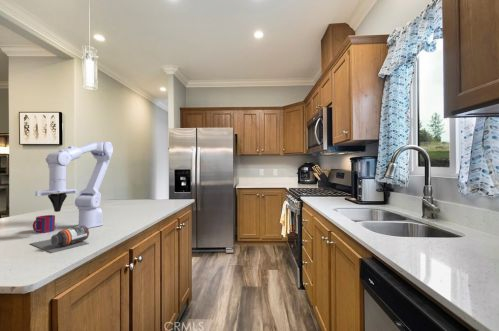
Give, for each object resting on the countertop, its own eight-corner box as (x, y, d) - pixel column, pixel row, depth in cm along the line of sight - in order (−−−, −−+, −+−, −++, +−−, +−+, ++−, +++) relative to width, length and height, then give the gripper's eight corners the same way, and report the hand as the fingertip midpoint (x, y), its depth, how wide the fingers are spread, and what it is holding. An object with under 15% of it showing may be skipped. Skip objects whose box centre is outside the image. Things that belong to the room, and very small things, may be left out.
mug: (58, 229, 114) (58, 215, 114) (39, 235, 104) (39, 219, 104) (44, 229, 115) (45, 214, 115) (24, 235, 105) (24, 219, 105)
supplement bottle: (81, 241, 98) (50, 250, 88) (77, 227, 99) (46, 235, 88) (91, 237, 96) (61, 246, 86) (87, 223, 97) (57, 230, 87)
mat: (66, 236, 103) (66, 235, 103) (88, 243, 94) (88, 243, 94) (30, 244, 93) (30, 243, 93) (50, 253, 83) (50, 252, 83)
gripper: (40, 180, 96) (40, 215, 96) (81, 179, 109) (80, 209, 108) (33, 180, 100) (32, 213, 100) (73, 178, 112) (73, 208, 112)
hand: (57, 211), depth 104 cm, fingers closed
